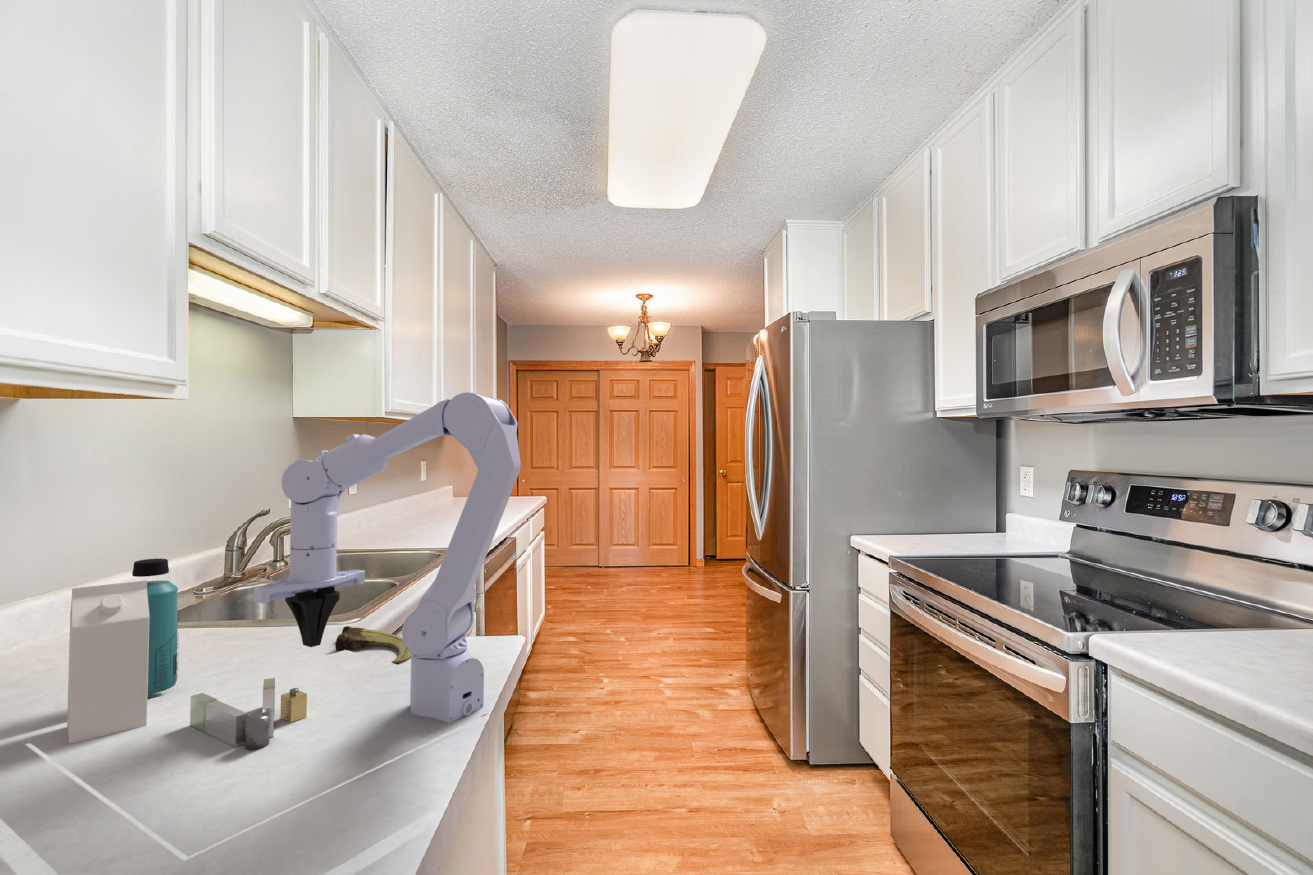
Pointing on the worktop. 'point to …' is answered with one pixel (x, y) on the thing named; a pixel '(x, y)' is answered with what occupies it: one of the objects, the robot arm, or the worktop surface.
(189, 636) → the worktop surface
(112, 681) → the milk carton
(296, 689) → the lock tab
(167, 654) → the beverage bottle
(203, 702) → the tongs fixed
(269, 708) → the bar
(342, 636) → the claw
